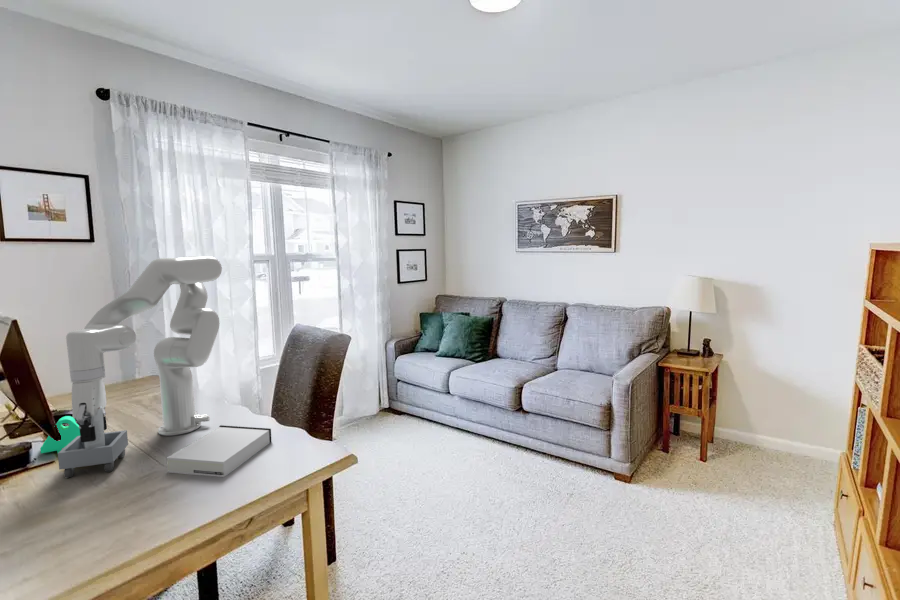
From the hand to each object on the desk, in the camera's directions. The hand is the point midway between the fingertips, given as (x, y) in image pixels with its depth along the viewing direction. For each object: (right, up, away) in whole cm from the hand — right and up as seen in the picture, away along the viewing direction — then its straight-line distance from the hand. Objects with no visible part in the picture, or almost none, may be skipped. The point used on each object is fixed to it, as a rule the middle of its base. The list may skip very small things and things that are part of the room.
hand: (94, 435), depth 126 cm
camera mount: (-19, -8, +14) cm, 25 cm away
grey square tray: (0, -9, +1) cm, 9 cm away
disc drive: (+33, -9, +7) cm, 35 cm away
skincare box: (0, -4, 0) cm, 4 cm away
